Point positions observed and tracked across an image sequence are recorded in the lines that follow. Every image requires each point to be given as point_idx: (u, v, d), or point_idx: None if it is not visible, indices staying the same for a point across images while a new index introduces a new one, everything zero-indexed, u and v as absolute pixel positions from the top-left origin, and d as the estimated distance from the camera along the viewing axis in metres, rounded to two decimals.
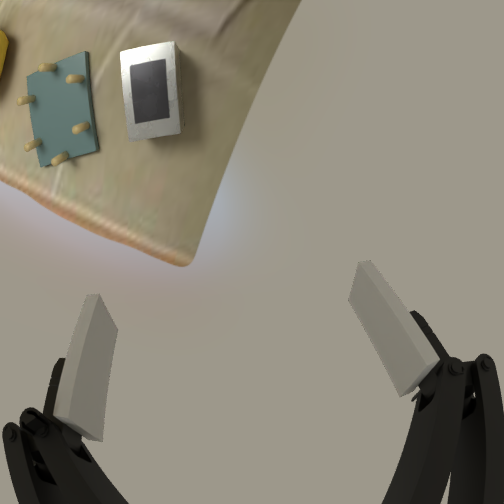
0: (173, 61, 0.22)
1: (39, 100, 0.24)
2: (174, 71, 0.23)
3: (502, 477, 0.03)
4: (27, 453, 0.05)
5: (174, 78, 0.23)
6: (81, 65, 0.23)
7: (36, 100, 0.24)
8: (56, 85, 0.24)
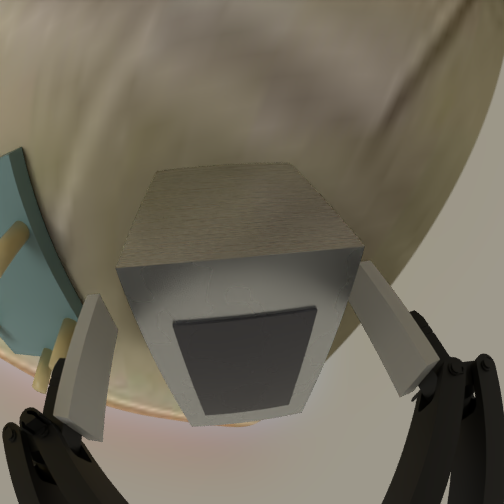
0: (338, 314, 0.08)
1: None
2: (331, 337, 0.09)
3: (502, 477, 0.03)
4: (27, 453, 0.05)
5: (325, 351, 0.09)
6: (11, 196, 0.09)
7: None
8: None
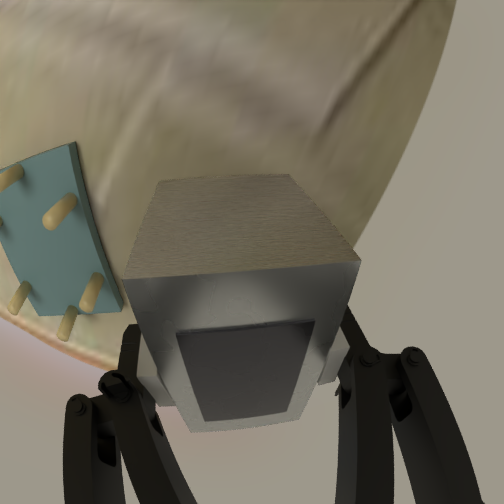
0: (336, 324, 0.08)
1: (9, 226, 0.15)
2: (328, 347, 0.09)
3: (468, 470, 0.04)
4: (93, 430, 0.07)
5: (322, 360, 0.09)
6: (66, 174, 0.15)
7: (4, 225, 0.15)
8: (30, 206, 0.15)
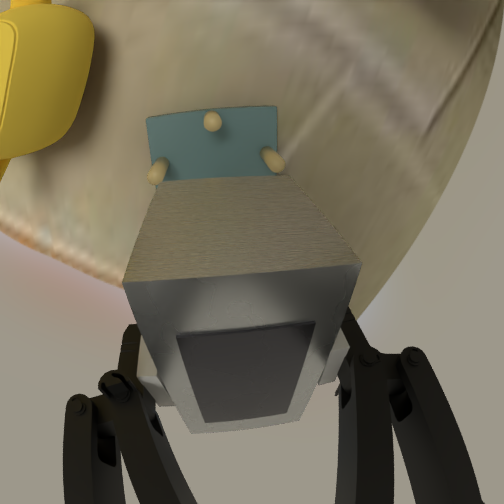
0: (336, 327, 0.08)
1: (178, 170, 0.21)
2: (329, 349, 0.09)
3: (467, 470, 0.04)
4: (93, 430, 0.07)
5: (322, 362, 0.09)
6: (269, 130, 0.20)
7: (171, 169, 0.21)
8: (217, 153, 0.21)
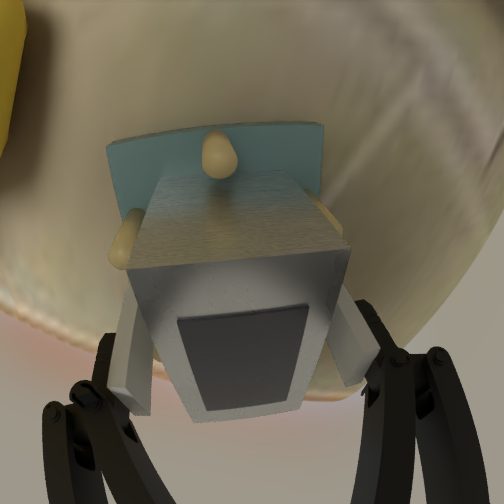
0: (330, 311, 0.09)
1: None
2: (324, 334, 0.09)
3: (480, 470, 0.04)
4: (69, 435, 0.06)
5: (319, 347, 0.10)
6: (310, 164, 0.13)
7: None
8: None
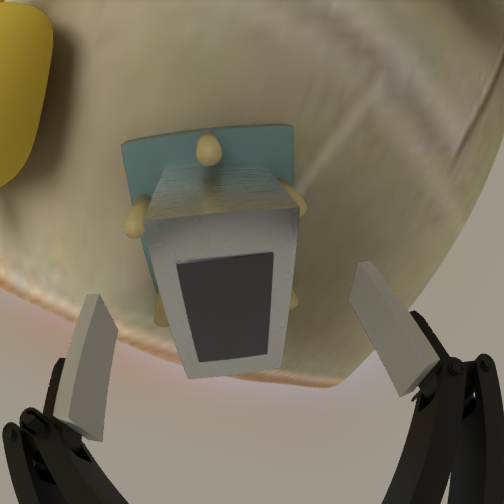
0: (291, 260, 0.12)
1: None
2: (290, 282, 0.12)
3: (502, 477, 0.03)
4: (27, 453, 0.05)
5: (287, 295, 0.13)
6: (283, 157, 0.16)
7: None
8: None
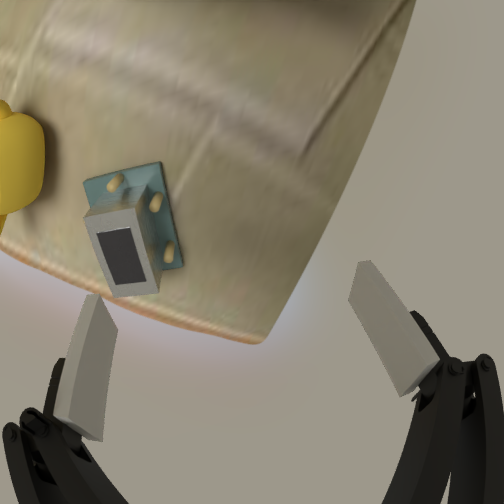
0: (138, 230, 0.26)
1: None
2: (141, 240, 0.26)
3: (502, 477, 0.03)
4: (27, 452, 0.05)
5: (143, 247, 0.27)
6: (157, 180, 0.30)
7: None
8: None
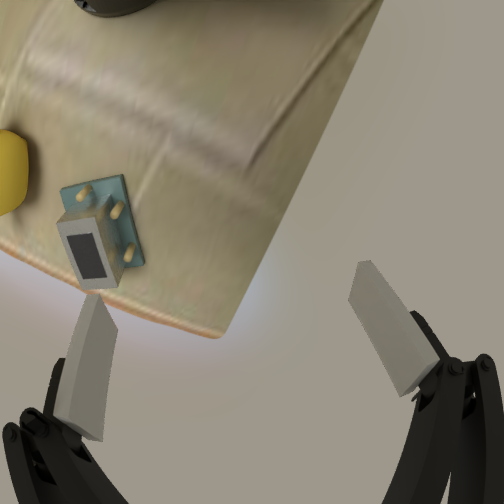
0: (98, 235, 0.29)
1: None
2: (101, 243, 0.30)
3: (502, 477, 0.03)
4: (27, 453, 0.05)
5: (103, 249, 0.30)
6: (119, 191, 0.34)
7: None
8: None
